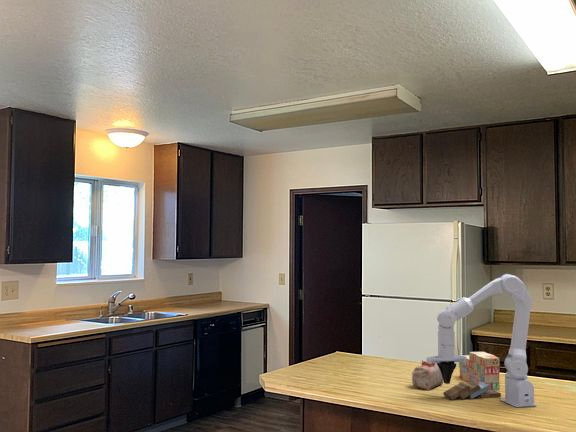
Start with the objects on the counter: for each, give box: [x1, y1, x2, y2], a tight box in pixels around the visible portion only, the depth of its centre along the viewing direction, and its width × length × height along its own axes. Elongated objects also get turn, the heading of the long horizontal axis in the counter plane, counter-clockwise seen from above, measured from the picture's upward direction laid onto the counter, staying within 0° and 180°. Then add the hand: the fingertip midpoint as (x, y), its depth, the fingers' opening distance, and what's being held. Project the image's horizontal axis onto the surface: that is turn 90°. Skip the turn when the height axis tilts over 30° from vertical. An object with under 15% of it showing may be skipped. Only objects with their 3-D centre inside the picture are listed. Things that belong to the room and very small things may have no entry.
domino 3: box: [476, 390, 502, 400], centre depth 207 cm, size 2×5×8 cm
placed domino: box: [467, 382, 490, 400], centre depth 206 cm, size 2×5×8 cm
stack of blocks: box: [458, 351, 501, 391], centre depth 226 cm, size 21×6×12 cm, turn 9°
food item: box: [411, 359, 444, 391], centre depth 220 cm, size 14×8×10 cm, turn 142°
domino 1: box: [442, 382, 470, 401], centre depth 204 cm, size 2×5×8 cm
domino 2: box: [457, 382, 481, 400], centre depth 205 cm, size 2×5×8 cm
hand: (446, 383), depth 203 cm, fingers closed
